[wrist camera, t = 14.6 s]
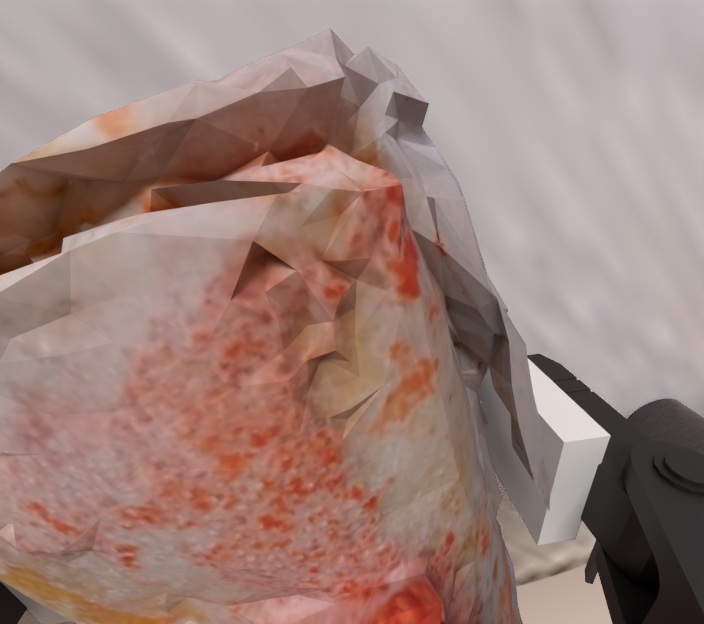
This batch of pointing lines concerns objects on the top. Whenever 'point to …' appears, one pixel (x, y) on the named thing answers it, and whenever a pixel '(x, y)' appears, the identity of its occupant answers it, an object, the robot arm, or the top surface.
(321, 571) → the food item
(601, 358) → the top surface
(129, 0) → the top surface
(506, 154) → the top surface
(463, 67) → the top surface
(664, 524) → the robot arm
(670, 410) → the gate post
